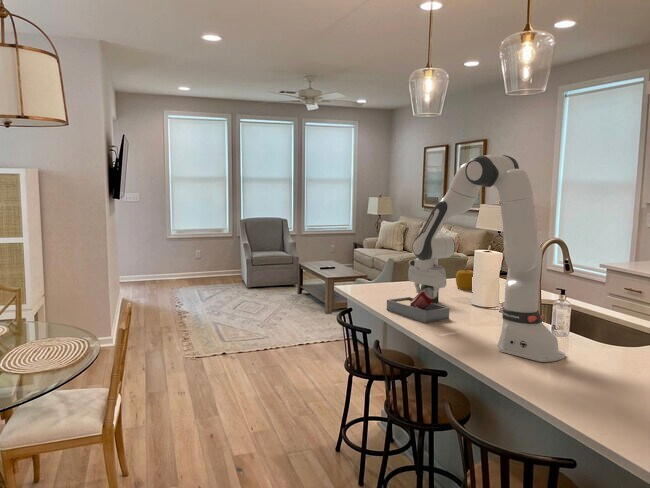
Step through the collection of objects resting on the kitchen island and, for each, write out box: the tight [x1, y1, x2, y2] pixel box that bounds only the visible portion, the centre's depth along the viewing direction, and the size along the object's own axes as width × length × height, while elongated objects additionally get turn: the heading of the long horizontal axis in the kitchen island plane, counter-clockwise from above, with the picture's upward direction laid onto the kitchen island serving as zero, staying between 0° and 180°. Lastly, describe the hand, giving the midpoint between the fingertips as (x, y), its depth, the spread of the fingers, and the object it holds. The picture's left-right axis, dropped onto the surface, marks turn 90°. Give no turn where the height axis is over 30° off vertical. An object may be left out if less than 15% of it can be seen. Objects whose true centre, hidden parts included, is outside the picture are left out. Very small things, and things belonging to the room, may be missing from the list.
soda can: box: [410, 288, 435, 310], centre depth 215 cm, size 7×7×12 cm
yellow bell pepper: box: [455, 269, 474, 291], centre depth 272 cm, size 11×11×13 cm
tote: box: [386, 296, 450, 324], centre depth 219 cm, size 26×14×5 cm, turn 32°
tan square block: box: [398, 300, 411, 306], centre depth 224 cm, size 9×9×3 cm
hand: (426, 294), depth 213 cm, fingers open, 8 cm apart
